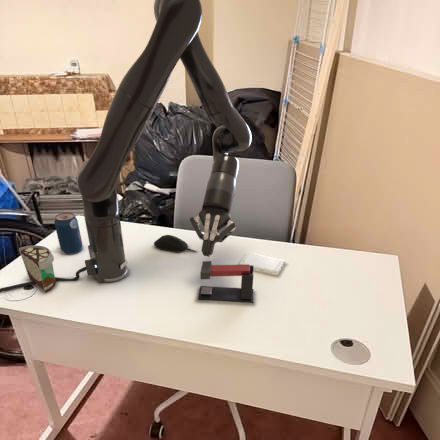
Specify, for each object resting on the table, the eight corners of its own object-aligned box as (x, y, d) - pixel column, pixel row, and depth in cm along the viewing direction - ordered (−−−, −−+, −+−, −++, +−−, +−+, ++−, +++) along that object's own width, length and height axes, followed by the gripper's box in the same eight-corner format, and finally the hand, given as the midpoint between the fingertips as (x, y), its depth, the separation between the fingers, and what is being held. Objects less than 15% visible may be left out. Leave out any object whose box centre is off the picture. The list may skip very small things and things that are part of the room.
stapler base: (197, 301, 107) (197, 273, 102) (200, 289, 112) (200, 261, 107) (253, 304, 107) (255, 276, 101) (253, 292, 111) (255, 264, 106)
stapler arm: (200, 279, 103) (200, 272, 102) (203, 267, 108) (202, 261, 107) (249, 278, 102) (249, 272, 101) (249, 266, 107) (249, 260, 106)
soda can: (87, 249, 130) (80, 215, 123) (68, 257, 126) (60, 222, 119) (75, 243, 134) (68, 209, 127) (57, 250, 129) (48, 216, 123)
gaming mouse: (191, 256, 128) (191, 245, 125) (150, 248, 132) (149, 237, 130) (199, 247, 133) (199, 237, 130) (159, 240, 137) (158, 229, 134)
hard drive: (239, 263, 122) (277, 271, 118) (248, 251, 128) (285, 259, 124) (238, 267, 123) (277, 276, 119) (247, 255, 129) (284, 264, 125)
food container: (68, 286, 112) (60, 255, 107) (47, 294, 109) (39, 263, 103) (47, 270, 119) (39, 240, 114) (27, 277, 115) (17, 247, 110)
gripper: (192, 184, 103) (178, 247, 100) (242, 190, 100) (228, 255, 97) (199, 197, 110) (185, 256, 107) (245, 202, 108) (232, 263, 105)
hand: (206, 255), depth 102 cm, fingers closed
